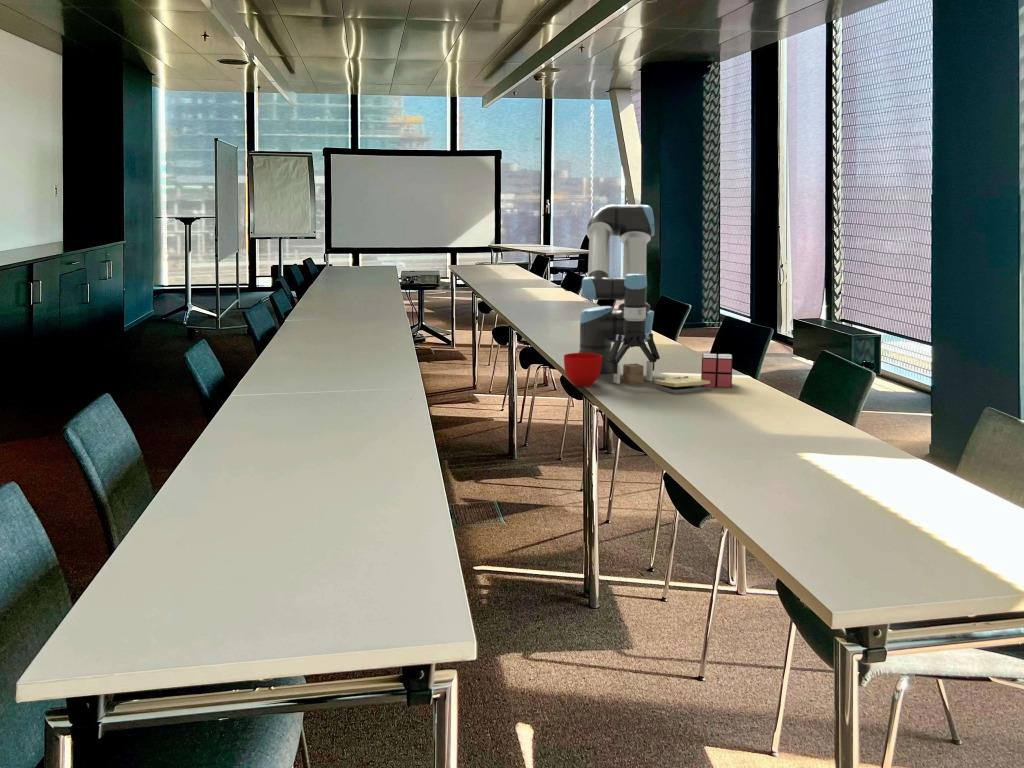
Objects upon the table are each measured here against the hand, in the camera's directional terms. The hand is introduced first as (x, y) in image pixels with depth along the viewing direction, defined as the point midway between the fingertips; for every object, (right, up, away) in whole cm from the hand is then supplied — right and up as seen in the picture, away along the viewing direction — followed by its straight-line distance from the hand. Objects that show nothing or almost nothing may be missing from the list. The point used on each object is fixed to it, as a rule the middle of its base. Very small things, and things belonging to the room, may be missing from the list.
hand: (633, 381), depth 330 cm
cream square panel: (+14, -1, -12) cm, 19 cm away
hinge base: (+14, -2, -11) cm, 18 cm away
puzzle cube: (+28, -1, -4) cm, 28 cm away
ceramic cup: (-17, -1, -3) cm, 17 cm away
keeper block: (0, 0, 0) cm, 0 cm away
